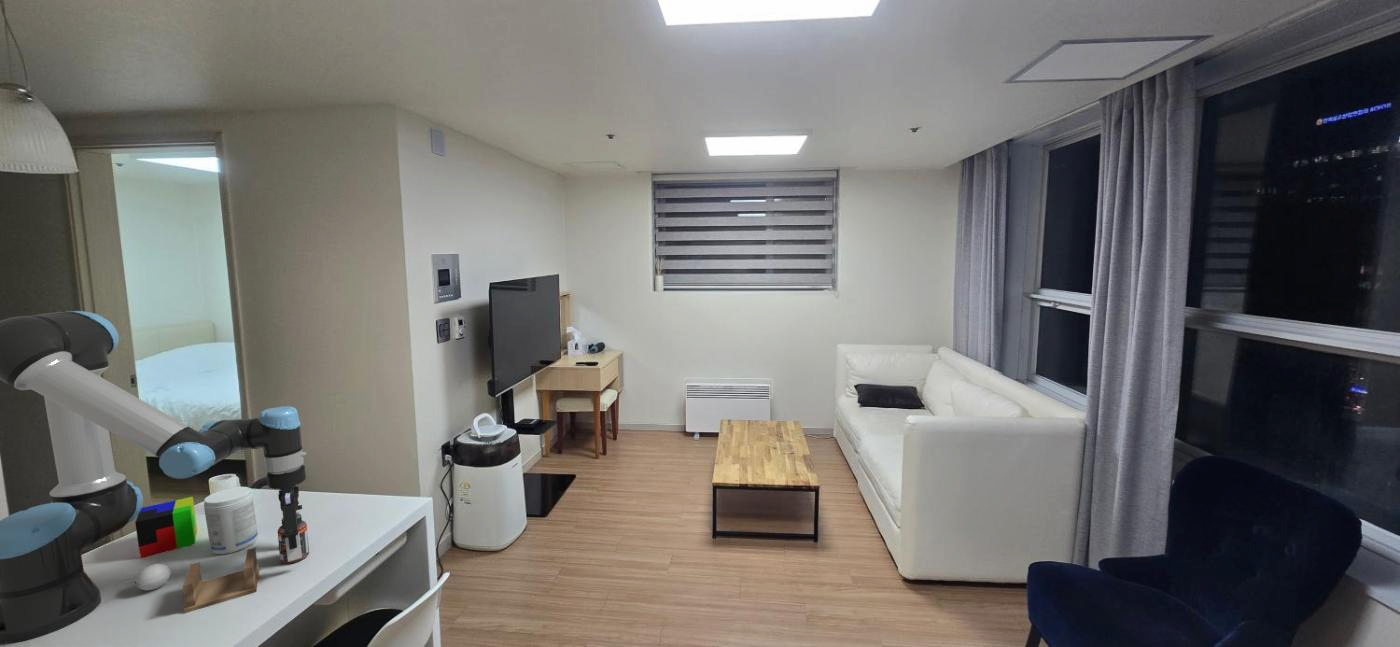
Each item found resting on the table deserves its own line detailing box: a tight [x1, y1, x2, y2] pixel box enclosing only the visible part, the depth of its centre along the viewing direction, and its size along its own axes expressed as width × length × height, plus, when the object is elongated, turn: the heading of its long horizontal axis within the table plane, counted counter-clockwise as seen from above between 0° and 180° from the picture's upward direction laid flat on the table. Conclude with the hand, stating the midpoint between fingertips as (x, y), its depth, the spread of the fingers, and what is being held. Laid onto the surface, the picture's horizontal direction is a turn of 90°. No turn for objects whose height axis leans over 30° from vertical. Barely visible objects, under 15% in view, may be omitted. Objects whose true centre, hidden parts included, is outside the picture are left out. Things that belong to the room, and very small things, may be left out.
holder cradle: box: [182, 547, 261, 614], centre depth 120 cm, size 12×11×6 cm
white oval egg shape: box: [124, 563, 171, 591], centre depth 120 cm, size 8×6×6 cm
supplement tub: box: [203, 486, 259, 555], centre depth 137 cm, size 10×10×15 cm
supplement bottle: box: [277, 513, 310, 565], centre depth 132 cm, size 6×6×11 cm
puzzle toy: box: [134, 496, 198, 559], centre depth 138 cm, size 10×10×10 cm
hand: (295, 547), depth 132 cm, fingers open, 13 cm apart
